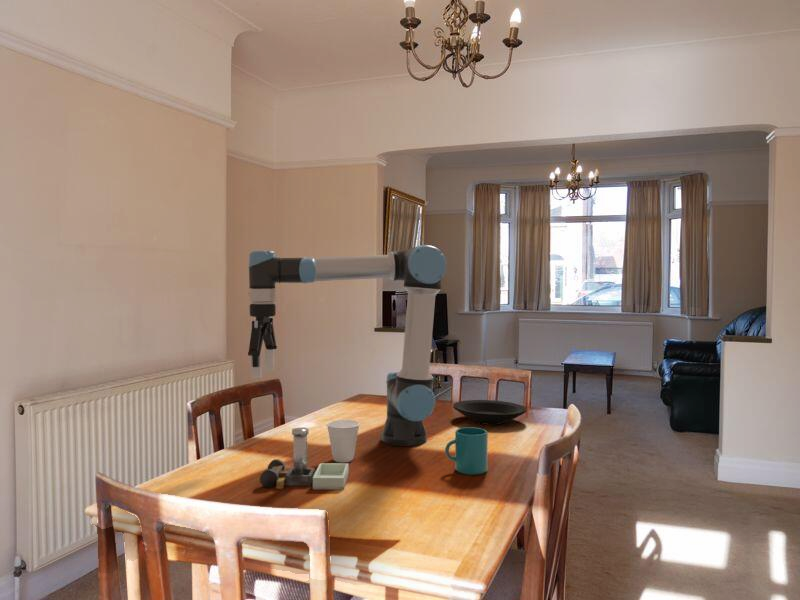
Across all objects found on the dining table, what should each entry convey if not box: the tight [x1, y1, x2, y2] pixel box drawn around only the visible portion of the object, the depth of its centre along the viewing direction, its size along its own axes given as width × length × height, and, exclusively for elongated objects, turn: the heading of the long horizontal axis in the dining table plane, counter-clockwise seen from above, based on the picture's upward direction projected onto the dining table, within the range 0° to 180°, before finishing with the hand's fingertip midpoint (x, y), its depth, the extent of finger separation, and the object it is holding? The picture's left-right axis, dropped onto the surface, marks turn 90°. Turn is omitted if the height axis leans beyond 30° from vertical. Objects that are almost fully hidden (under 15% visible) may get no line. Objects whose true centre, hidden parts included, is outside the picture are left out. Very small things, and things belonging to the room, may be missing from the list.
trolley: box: [259, 458, 316, 490], centre depth 160 cm, size 13×11×4 cm
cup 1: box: [325, 419, 360, 464], centre depth 179 cm, size 10×10×11 cm
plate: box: [452, 399, 527, 426], centre depth 227 cm, size 28×24×6 cm
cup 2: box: [444, 426, 489, 476], centre depth 169 cm, size 9×12×11 cm
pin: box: [291, 427, 310, 475], centre depth 160 cm, size 4×4×14 cm
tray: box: [312, 462, 350, 491], centre depth 160 cm, size 8×12×3 cm, turn 179°
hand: (263, 374), depth 178 cm, fingers open, 13 cm apart
